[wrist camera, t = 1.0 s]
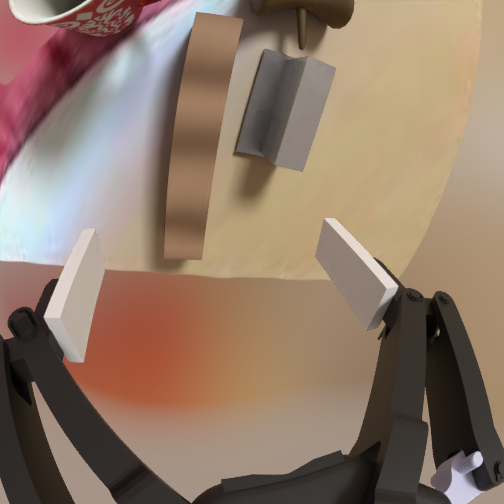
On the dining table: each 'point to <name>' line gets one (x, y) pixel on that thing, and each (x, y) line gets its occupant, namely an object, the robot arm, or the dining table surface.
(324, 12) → the kendama
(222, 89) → the walnut bar
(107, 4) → the mug
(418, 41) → the dining table surface
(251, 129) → the fulcrum
